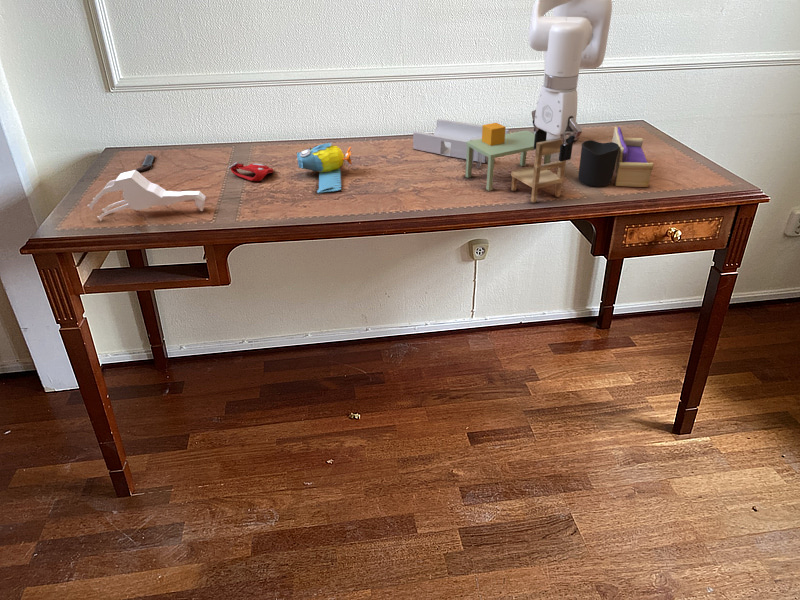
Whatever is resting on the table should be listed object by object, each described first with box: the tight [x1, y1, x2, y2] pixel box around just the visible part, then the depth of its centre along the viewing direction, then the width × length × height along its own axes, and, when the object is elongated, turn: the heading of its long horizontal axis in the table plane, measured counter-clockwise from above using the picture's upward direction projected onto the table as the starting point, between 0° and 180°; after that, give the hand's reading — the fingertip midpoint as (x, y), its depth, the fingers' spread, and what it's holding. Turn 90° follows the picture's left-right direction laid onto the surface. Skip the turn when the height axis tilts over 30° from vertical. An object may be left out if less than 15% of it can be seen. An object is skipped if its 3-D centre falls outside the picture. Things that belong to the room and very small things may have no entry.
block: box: [482, 122, 506, 146], centre depth 161 cm, size 4×4×4 cm
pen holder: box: [577, 139, 619, 188], centre depth 161 cm, size 9×9×10 cm
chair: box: [510, 137, 568, 204], centre depth 154 cm, size 10×9×15 cm
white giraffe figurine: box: [87, 169, 207, 222], centre depth 149 cm, size 5×16×25 cm
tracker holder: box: [228, 161, 274, 182], centre depth 170 cm, size 12×4×10 cm
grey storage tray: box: [412, 118, 510, 169], centre depth 184 cm, size 25×21×8 cm
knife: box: [135, 153, 155, 173], centre depth 181 cm, size 14×4×1 cm, turn 11°
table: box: [465, 129, 552, 192], centre depth 165 cm, size 12×20×10 cm, turn 117°
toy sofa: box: [611, 126, 654, 188], centre depth 166 cm, size 21×9×10 cm, turn 169°
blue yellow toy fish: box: [296, 142, 353, 194], centre depth 170 cm, size 28×9×15 cm
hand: (551, 153), depth 148 cm, fingers open, 9 cm apart
